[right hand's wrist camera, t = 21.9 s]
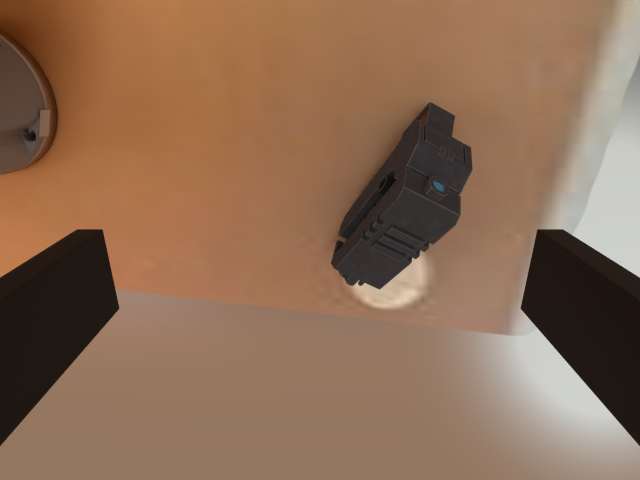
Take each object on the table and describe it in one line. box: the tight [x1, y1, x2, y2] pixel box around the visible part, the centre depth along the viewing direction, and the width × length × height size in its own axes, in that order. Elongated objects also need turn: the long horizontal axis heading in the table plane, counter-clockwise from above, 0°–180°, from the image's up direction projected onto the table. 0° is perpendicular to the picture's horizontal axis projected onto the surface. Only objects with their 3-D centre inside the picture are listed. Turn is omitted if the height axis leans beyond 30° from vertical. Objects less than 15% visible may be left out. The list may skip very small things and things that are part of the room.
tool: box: [331, 103, 472, 289], centre depth 42 cm, size 6×19×15 cm, turn 153°
